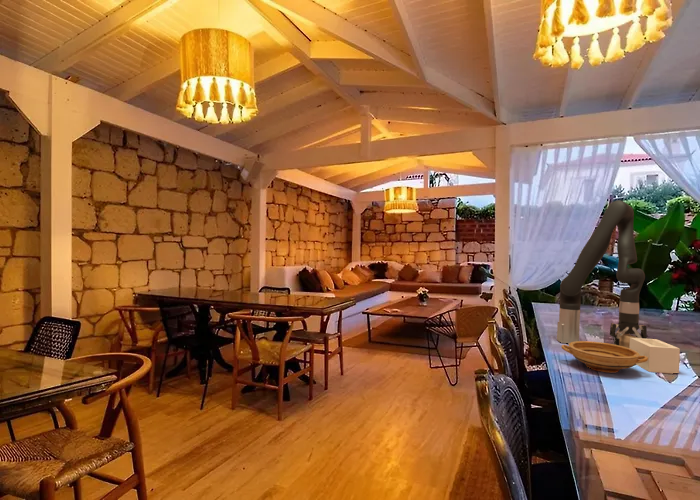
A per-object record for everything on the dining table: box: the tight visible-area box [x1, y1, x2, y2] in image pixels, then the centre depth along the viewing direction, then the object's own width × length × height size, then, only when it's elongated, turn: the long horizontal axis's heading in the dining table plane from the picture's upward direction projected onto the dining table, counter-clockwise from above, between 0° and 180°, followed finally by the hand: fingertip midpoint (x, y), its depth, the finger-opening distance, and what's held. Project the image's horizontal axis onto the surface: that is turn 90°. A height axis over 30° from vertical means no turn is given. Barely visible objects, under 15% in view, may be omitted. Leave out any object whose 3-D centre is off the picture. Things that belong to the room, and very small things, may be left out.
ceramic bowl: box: [560, 340, 648, 374], centre depth 159 cm, size 30×24×8 cm
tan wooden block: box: [619, 334, 637, 348], centre depth 181 cm, size 4×10×9 cm, turn 170°
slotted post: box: [629, 338, 681, 374], centre depth 163 cm, size 10×15×10 cm
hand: (627, 346), depth 181 cm, fingers open, 8 cm apart
